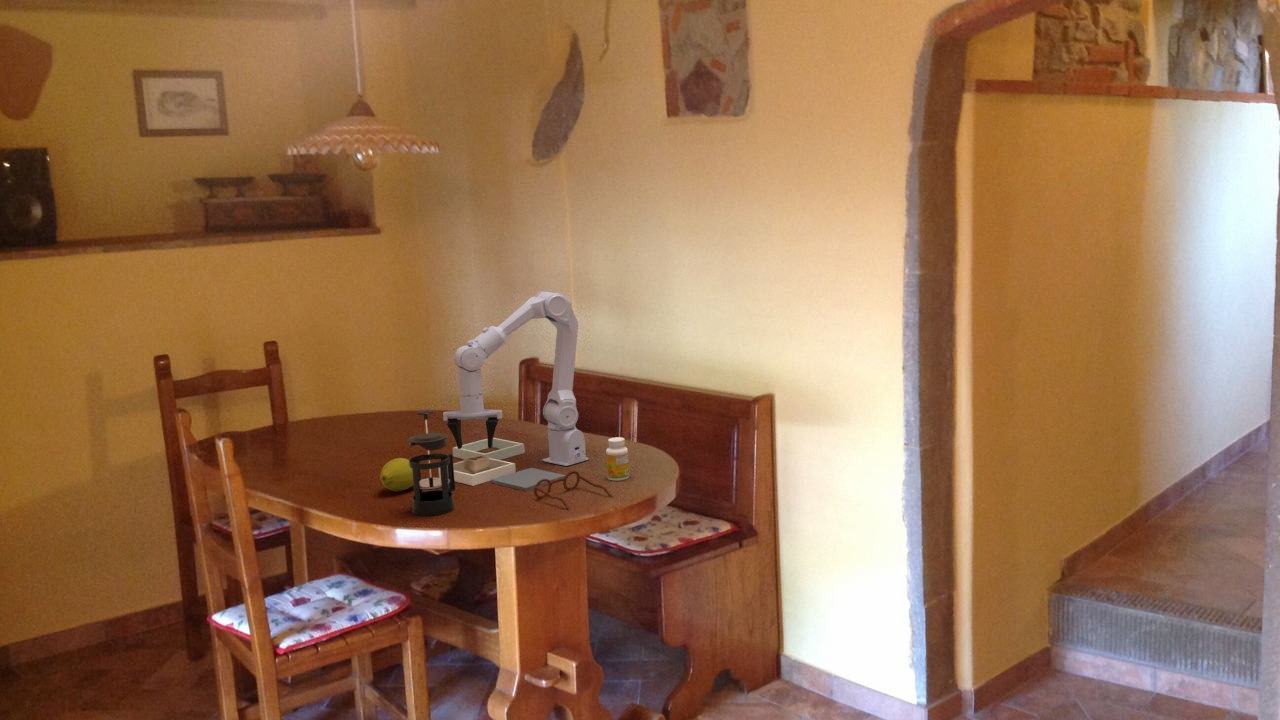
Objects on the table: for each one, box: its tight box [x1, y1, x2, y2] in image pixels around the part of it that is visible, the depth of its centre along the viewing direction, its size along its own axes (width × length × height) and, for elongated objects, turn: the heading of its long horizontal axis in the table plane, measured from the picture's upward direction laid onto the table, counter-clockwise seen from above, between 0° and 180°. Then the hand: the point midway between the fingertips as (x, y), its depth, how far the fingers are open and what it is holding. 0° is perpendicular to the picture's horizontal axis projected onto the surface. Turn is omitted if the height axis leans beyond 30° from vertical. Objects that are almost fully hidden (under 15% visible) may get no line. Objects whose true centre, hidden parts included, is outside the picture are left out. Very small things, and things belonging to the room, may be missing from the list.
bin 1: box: [452, 437, 526, 460], centre depth 300 cm, size 14×14×2 cm
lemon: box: [379, 457, 414, 493], centre depth 268 cm, size 11×8×8 cm
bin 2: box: [437, 458, 517, 487], centre depth 280 cm, size 14×14×2 cm
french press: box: [407, 409, 456, 517], centre depth 251 cm, size 12×9×23 cm
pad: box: [490, 467, 566, 492], centre depth 272 cm, size 13×13×1 cm
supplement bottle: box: [605, 436, 630, 482], centre depth 270 cm, size 5×5×10 cm
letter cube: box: [462, 455, 490, 475], centre depth 280 cm, size 4×4×5 cm
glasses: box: [533, 470, 614, 511], centre depth 255 cm, size 13×13×5 cm
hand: (475, 447), depth 279 cm, fingers open, 7 cm apart
